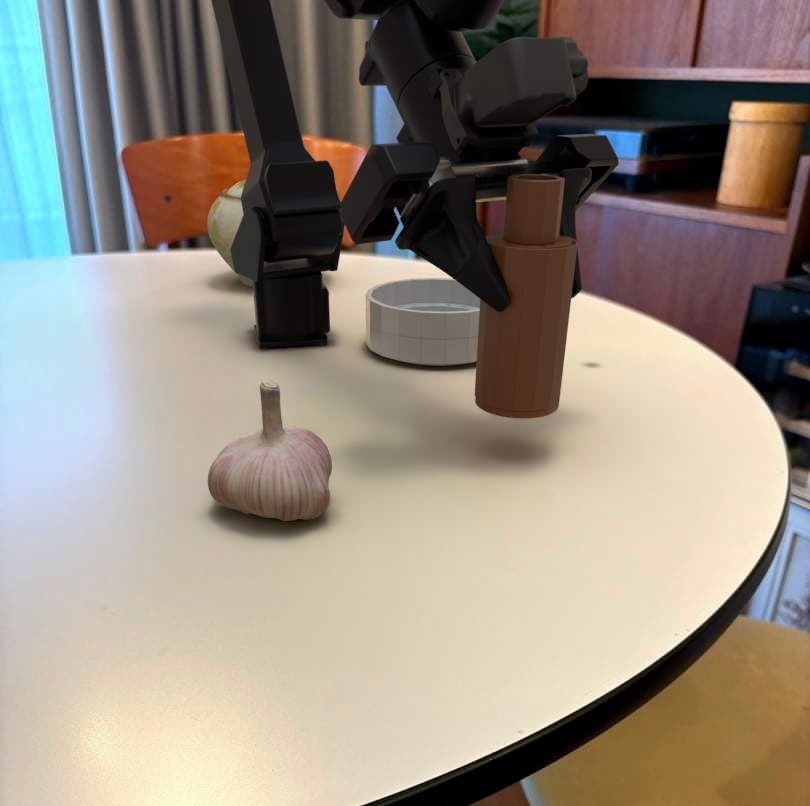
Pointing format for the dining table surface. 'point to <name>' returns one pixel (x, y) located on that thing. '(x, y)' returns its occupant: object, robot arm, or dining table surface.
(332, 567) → the dining table surface
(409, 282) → the dish
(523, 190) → the bottle
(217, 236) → the sugar bowl
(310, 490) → the garlic bulb
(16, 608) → the dining table surface
